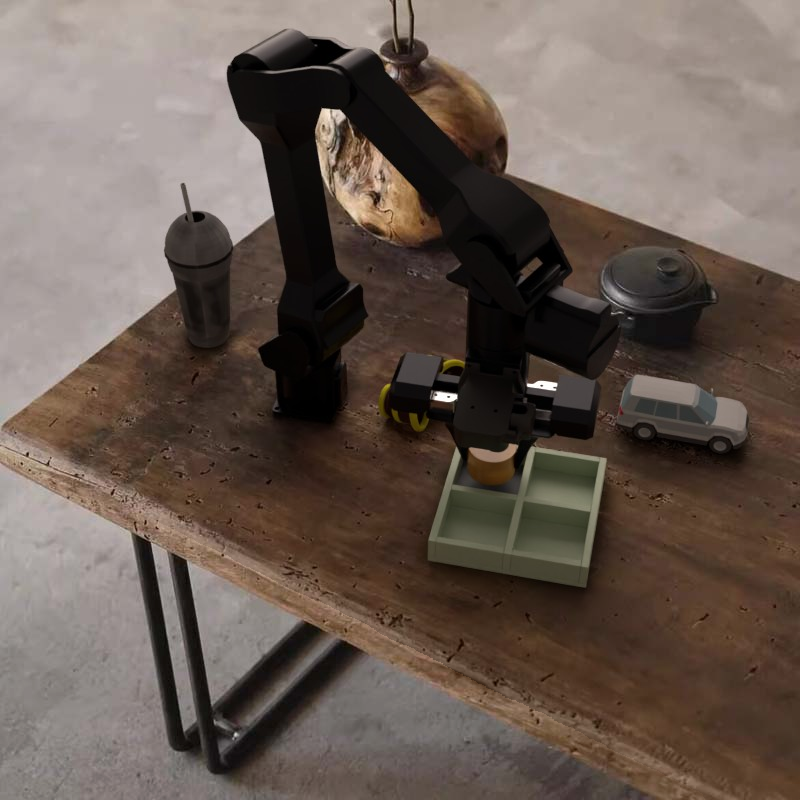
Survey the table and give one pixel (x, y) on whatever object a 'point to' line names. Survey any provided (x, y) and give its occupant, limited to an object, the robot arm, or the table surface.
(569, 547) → the grid
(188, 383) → the table surface
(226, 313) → the beverage cup
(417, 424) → the opera glasses
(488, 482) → the cylinder
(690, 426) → the toy car
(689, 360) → the table surface
